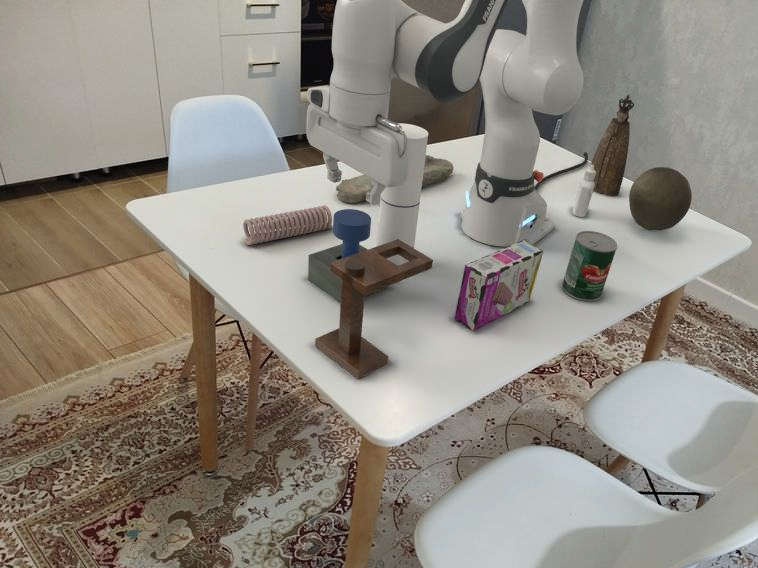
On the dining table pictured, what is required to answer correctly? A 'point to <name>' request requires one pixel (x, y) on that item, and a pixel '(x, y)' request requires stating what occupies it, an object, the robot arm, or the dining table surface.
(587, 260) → the canned tomato
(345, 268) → the stand
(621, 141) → the statue
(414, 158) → the cylindrical container
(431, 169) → the elongated rock
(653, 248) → the dining table surface
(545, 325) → the dining table surface
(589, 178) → the eye dropper bottle
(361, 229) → the peg
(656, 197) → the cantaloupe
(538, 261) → the candy bar box
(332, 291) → the holder
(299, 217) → the coil
